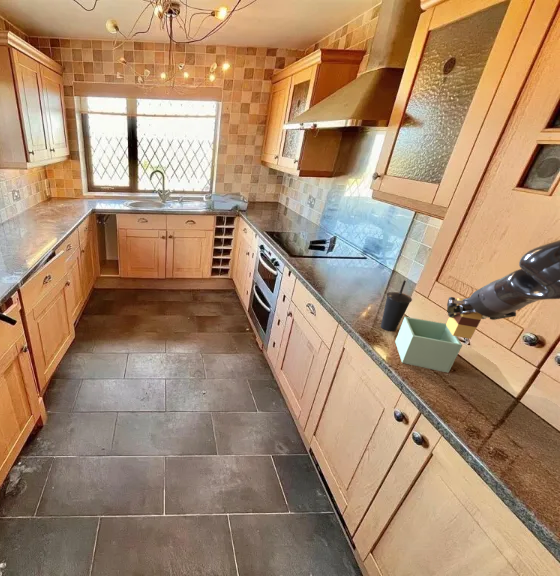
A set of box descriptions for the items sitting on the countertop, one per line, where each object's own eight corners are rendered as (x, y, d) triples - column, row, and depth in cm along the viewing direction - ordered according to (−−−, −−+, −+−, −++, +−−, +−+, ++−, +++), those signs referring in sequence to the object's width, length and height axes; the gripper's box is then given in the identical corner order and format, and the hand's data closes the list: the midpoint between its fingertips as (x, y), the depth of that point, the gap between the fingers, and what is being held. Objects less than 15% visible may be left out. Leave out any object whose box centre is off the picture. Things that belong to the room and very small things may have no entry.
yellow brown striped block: (462, 327, 89) (476, 300, 85) (471, 339, 84) (485, 310, 80) (445, 324, 90) (457, 297, 86) (452, 335, 85) (465, 307, 81)
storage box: (436, 350, 105) (448, 324, 100) (448, 373, 95) (462, 345, 90) (395, 341, 109) (404, 316, 105) (401, 362, 99) (412, 335, 95)
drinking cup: (377, 331, 115) (393, 283, 106) (375, 320, 121) (390, 274, 112) (401, 335, 112) (420, 287, 103) (398, 325, 118) (415, 278, 110)
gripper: (541, 287, 70) (492, 308, 86) (463, 277, 75) (431, 299, 91) (542, 318, 68) (493, 334, 84) (462, 306, 73) (429, 323, 89)
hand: (460, 315), depth 87 cm, fingers closed on yellow brown striped block, 4 cm apart
